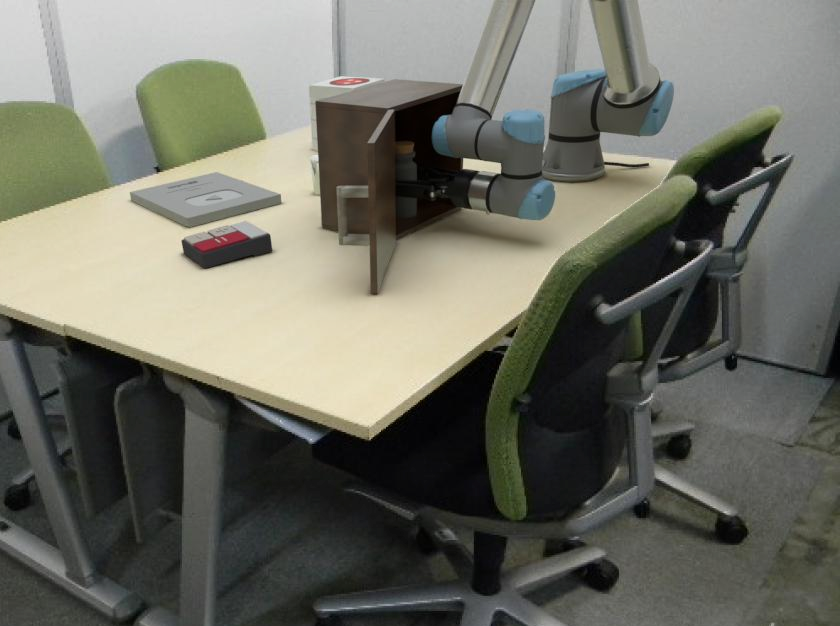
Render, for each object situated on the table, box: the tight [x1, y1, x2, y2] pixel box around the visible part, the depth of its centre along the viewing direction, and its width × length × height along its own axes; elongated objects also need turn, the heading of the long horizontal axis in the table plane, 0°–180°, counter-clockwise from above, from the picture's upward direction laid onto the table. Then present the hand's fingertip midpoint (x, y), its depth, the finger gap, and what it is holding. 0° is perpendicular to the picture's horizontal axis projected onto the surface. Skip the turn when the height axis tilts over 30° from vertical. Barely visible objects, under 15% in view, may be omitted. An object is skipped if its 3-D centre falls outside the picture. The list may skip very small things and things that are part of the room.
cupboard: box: [315, 78, 464, 241], centre depth 177 cm, size 18×26×26 cm
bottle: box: [395, 141, 417, 218], centre depth 179 cm, size 6×6×15 cm
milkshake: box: [309, 154, 320, 196], centre depth 202 cm, size 5×5×10 cm
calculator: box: [181, 220, 273, 269], centre depth 170 cm, size 11×4×15 cm
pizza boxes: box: [308, 75, 386, 152], centre depth 233 cm, size 19×30×18 cm, turn 31°
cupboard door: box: [337, 110, 397, 295], centre depth 153 cm, size 7×26×26 cm, turn 168°
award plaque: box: [129, 171, 282, 228], centre depth 204 cm, size 25×30×2 cm
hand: (385, 175), depth 182 cm, fingers open, 8 cm apart
